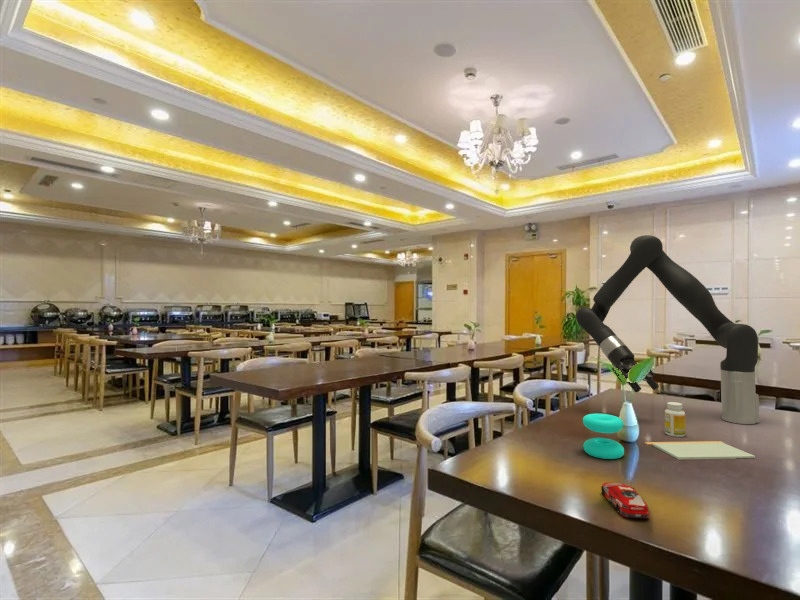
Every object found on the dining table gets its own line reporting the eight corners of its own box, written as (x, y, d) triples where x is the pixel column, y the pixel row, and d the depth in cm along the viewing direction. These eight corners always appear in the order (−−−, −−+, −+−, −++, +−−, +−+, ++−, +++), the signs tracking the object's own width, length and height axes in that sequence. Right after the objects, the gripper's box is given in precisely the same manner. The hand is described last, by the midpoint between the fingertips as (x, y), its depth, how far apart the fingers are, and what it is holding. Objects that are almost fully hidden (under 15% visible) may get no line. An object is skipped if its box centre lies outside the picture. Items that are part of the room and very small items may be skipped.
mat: (722, 444, 120) (722, 442, 120) (755, 458, 109) (755, 456, 109) (652, 445, 120) (652, 443, 120) (678, 459, 109) (678, 457, 109)
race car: (598, 491, 92) (597, 472, 92) (624, 492, 91) (624, 473, 91) (621, 521, 79) (621, 500, 79) (653, 523, 78) (652, 501, 78)
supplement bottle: (662, 434, 130) (661, 403, 130) (668, 431, 134) (667, 400, 134) (682, 438, 126) (681, 406, 126) (688, 434, 130) (687, 403, 130)
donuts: (628, 416, 114) (617, 424, 107) (629, 453, 114) (618, 463, 107) (589, 410, 121) (577, 417, 114) (590, 445, 121) (577, 454, 114)
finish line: (720, 442, 122) (720, 441, 122) (724, 443, 121) (724, 442, 121) (644, 443, 122) (644, 442, 122) (647, 444, 121) (647, 443, 121)
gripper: (608, 345, 143) (640, 384, 133) (637, 343, 149) (669, 381, 139) (595, 359, 148) (625, 398, 137) (624, 357, 154) (654, 394, 143)
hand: (647, 389), depth 138 cm, fingers open, 8 cm apart
